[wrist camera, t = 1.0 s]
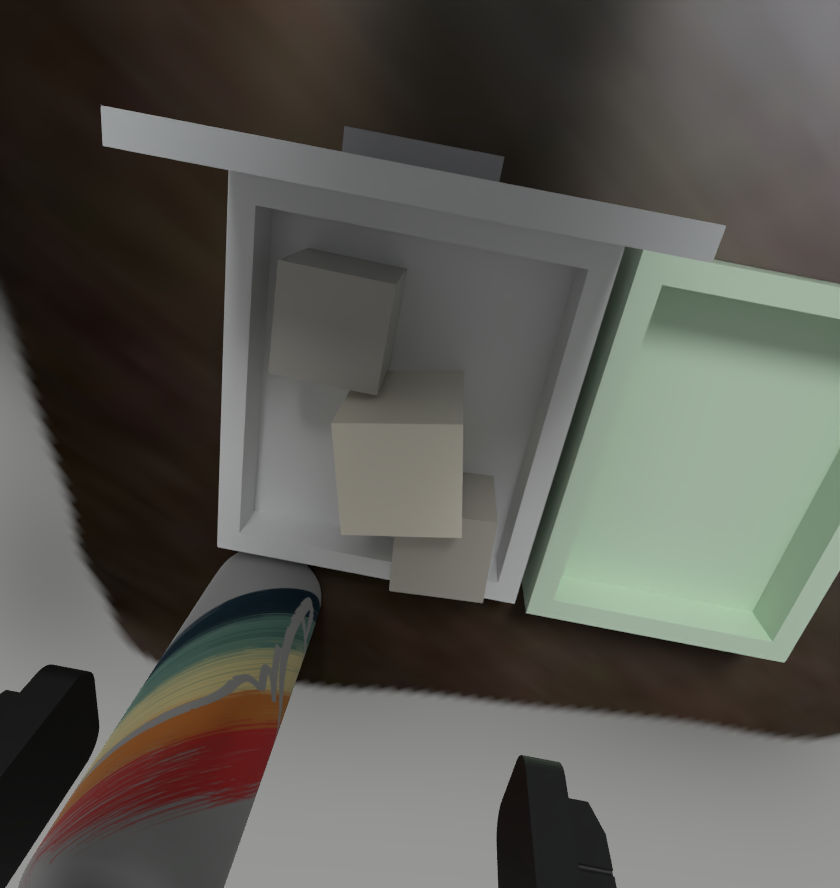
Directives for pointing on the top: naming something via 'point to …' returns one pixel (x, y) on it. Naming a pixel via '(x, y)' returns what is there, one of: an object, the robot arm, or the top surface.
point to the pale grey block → (451, 551)
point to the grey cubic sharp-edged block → (335, 319)
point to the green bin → (699, 461)
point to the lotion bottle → (190, 741)
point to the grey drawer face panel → (412, 180)
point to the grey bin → (403, 364)
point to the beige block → (402, 456)
